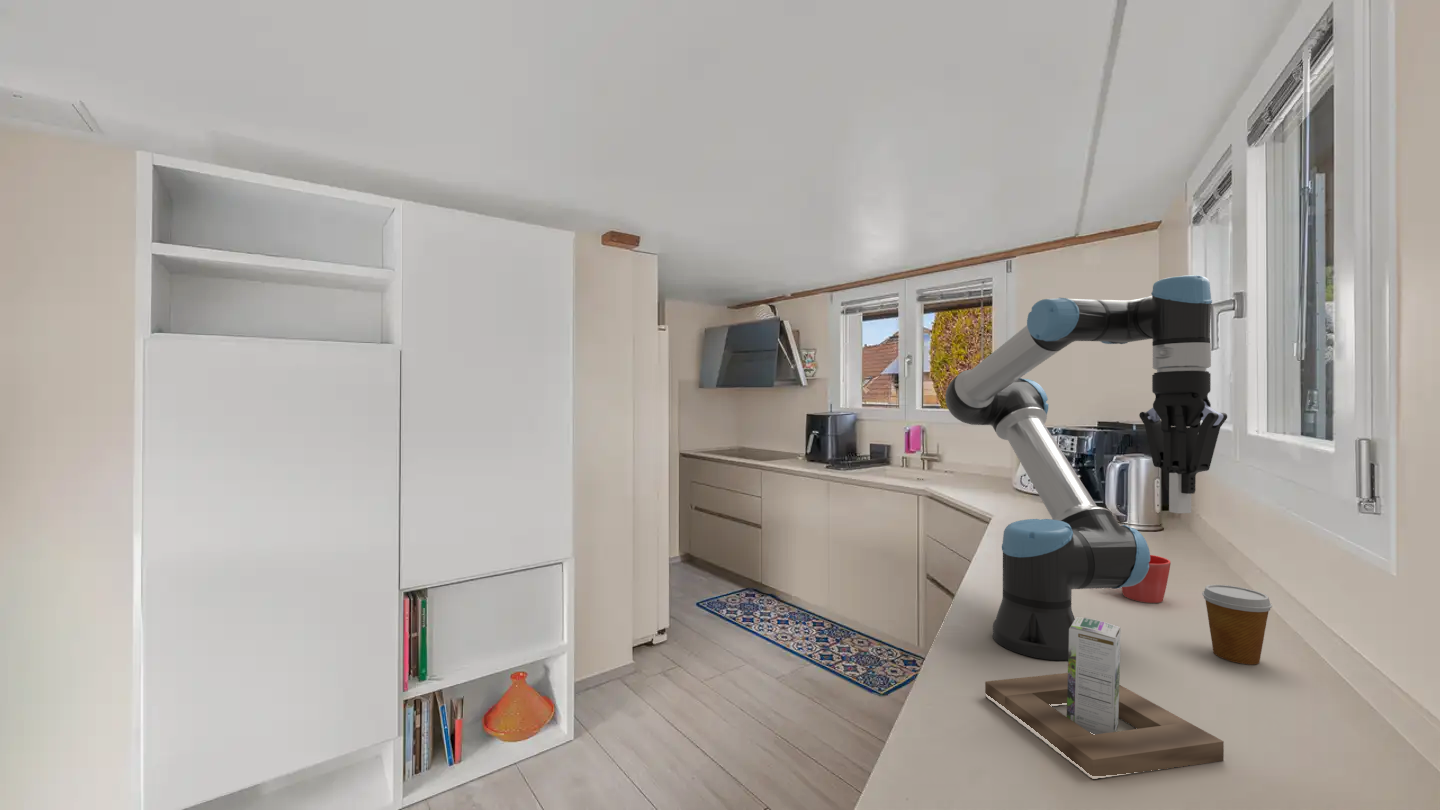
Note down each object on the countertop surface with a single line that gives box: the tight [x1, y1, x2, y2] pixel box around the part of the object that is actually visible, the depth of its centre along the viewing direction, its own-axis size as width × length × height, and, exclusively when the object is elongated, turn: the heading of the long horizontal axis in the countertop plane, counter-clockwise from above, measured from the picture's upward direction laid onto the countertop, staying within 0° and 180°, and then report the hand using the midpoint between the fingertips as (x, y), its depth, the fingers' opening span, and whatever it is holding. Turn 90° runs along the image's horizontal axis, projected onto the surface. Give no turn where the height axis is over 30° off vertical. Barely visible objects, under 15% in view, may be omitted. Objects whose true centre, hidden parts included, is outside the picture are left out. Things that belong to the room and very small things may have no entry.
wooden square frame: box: [984, 672, 1225, 776], centre depth 81 cm, size 20×20×2 cm
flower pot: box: [1121, 554, 1171, 604], centre depth 136 cm, size 11×11×10 cm
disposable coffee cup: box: [1201, 584, 1273, 666], centre depth 104 cm, size 10×10×12 cm
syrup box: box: [1066, 616, 1122, 734], centre depth 81 cm, size 6×6×14 cm
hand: (1180, 512), depth 94 cm, fingers closed
